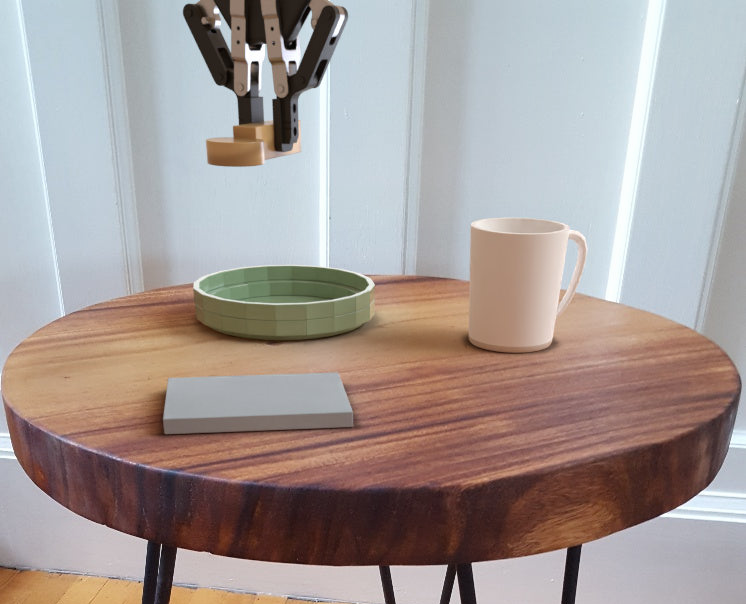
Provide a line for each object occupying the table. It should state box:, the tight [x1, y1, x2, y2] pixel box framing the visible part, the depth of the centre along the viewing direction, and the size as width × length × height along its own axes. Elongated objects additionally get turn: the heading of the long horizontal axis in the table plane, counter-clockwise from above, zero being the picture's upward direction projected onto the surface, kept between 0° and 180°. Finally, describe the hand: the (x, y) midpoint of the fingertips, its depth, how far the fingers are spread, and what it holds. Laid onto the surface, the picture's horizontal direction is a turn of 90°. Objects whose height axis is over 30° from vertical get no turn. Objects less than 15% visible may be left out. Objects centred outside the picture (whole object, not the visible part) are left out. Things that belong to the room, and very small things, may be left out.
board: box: [162, 371, 354, 435], centre depth 75 cm, size 14×10×1 cm
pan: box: [192, 264, 376, 341], centre depth 98 cm, size 18×18×4 cm
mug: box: [468, 217, 589, 354], centre depth 90 cm, size 11×9×10 cm
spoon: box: [205, 119, 302, 168], centre depth 76 cm, size 12×4×2 cm, turn 159°
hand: (269, 149), depth 78 cm, fingers closed on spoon, 2 cm apart
